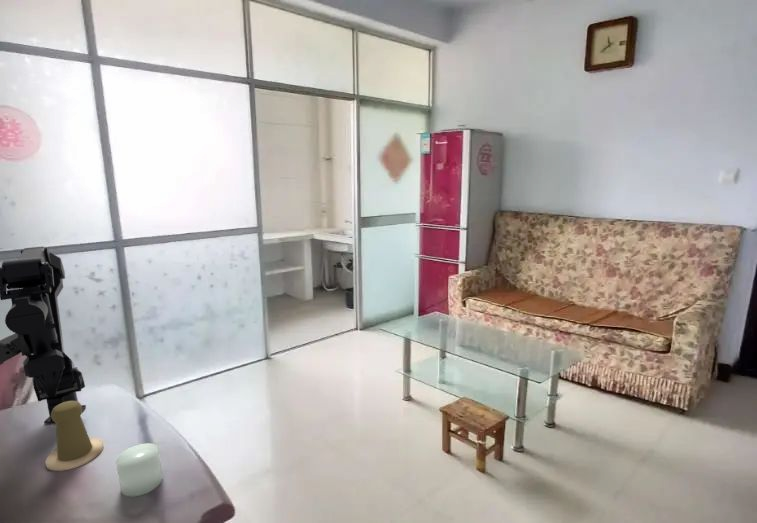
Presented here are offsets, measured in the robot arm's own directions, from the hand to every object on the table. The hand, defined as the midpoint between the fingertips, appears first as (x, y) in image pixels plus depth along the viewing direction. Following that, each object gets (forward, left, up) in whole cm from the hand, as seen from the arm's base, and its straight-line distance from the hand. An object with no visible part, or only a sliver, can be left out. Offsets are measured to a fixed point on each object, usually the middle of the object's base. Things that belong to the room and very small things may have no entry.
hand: (50, 388), depth 92 cm
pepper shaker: (+5, +5, -13) cm, 14 cm away
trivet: (+5, +5, -13) cm, 15 cm away
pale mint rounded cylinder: (+17, +22, -13) cm, 31 cm away
